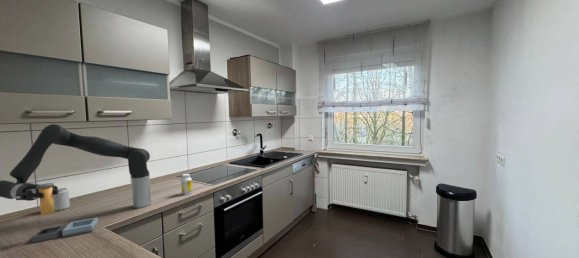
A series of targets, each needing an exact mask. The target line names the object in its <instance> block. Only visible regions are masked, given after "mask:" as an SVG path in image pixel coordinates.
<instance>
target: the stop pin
mask: <svg viewBox="0 0 579 258" xmlns="http://www.w3.org/2000/svg"><path fill="white" fill-rule="evenodd" d="M52 186H55V183H54V182H47V183H46V182H45V183H41V184H39V185H37V188H38V189H39V192H41V193H44V198H39V207H40V215H41V216H49V215H51V214H52V215H53V214H54V213H55V212H56V211H55V210H54V200H53V189H52Z"/></svg>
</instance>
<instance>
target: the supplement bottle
mask: <svg viewBox="0 0 579 258" xmlns="http://www.w3.org/2000/svg"><path fill="white" fill-rule="evenodd" d="M181 177H182V178H181V180H180V184H181V186H180V187H181V194H182V195H184V196H185V195H186V196H187V195H190V194H192V193H193V179H192V177H191V176H190V173H184V174H182V175H181Z"/></svg>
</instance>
